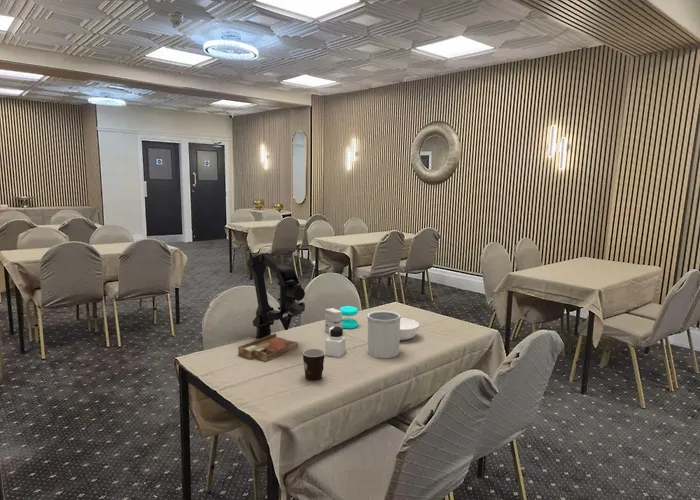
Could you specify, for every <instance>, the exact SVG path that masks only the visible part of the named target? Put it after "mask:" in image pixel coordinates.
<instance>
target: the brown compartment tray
mask: <svg viewBox="0 0 700 500" xmlns="http://www.w3.org/2000/svg"><path fill="white" fill-rule="evenodd" d="M277 337H278V338H281V339H285V340H286V347H285V348H283V349H280V350H278V351H277V350H274V349H271V348H269V340H272V339H274V338H277ZM237 348H238V350H237V351H238V352H237V353H238V357H239V356H240V357H242V358H246V359H247V360H250V361H252V360H254V359H255V360H258V361H262V362H265V363H266V362H269V361H271V360H273V359H276V358H278V357H280V356H283V355H286V354H288V353H291V352H292V351H295V350H297V349H299V342H295V341H293V340H289V339H286V338H282V337H279V336H277V333H276V332H275V333H273V334H271V335H269V336H266V337H264V338H261V339H256V340H253V341H250V342H248V343H245V344H242V345H239V346H238V347H237Z"/></svg>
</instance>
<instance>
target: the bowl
mask: <svg viewBox="0 0 700 500" xmlns="http://www.w3.org/2000/svg"><path fill="white" fill-rule="evenodd" d="M419 328H420V323H419V322H418V321H417V320H414V319H411V318H405V317H401V319H400V339H399V341H405V340H406V341H407V340H410V339H413V338H414V337H415V336H416V335H417V333H418V331H419Z"/></svg>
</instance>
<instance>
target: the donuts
mask: <svg viewBox="0 0 700 500" xmlns="http://www.w3.org/2000/svg"><path fill="white" fill-rule="evenodd" d="M338 310H339V311H342V316H343V317H344V316H345V318H342V329H348V330H349V329H350V330H351V329H355V328H357V326H358V325H359V322H358V321H357V320H356V319H354V318H350V317H354V316H356V315H358V313H359V309H358V308H357V307H356V306H351V305H346V306H345V305H344V306H341V307H340V308H339V309H338ZM346 317H348V318H346Z"/></svg>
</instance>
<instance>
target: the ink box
mask: <svg viewBox="0 0 700 500" xmlns="http://www.w3.org/2000/svg"><path fill="white" fill-rule="evenodd" d="M324 319H325V320H324V322H325V323H324V329H325V332H326V333H328V334H329V329H330V328H331V327H334V326H337V327H341V328H342V319H343V315H342V311H339V309H336V308H333V307H332V308H325V309H324ZM342 329H343V328H342Z"/></svg>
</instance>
